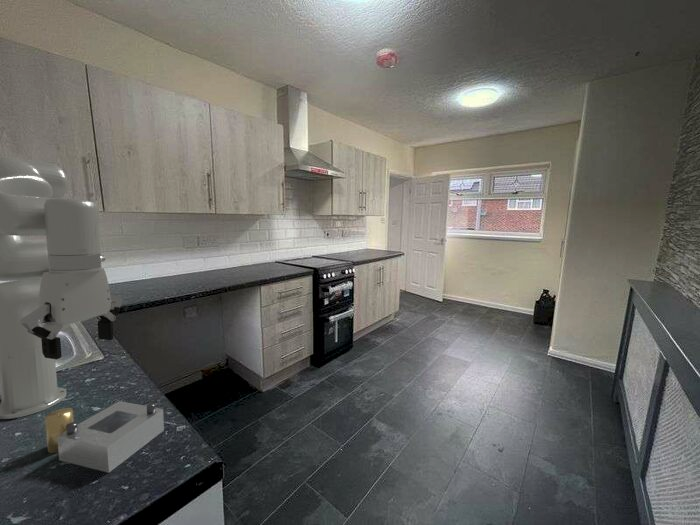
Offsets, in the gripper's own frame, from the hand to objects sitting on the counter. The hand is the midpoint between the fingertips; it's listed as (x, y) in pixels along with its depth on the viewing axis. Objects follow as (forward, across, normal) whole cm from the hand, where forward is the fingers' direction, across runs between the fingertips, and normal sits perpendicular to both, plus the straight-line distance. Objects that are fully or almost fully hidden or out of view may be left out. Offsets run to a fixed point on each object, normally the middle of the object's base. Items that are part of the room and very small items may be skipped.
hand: (81, 347), depth 59 cm
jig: (+20, -1, +6) cm, 21 cm away
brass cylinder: (+20, +2, -4) cm, 21 cm away
